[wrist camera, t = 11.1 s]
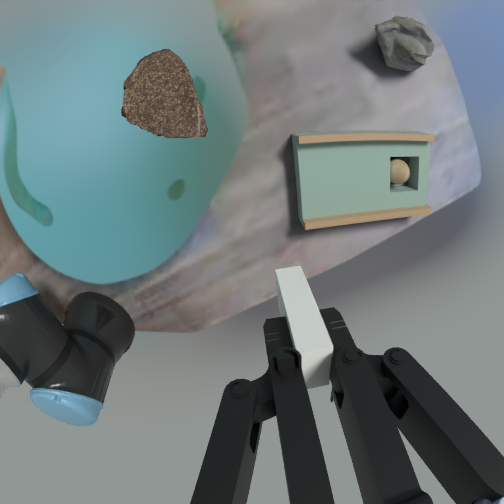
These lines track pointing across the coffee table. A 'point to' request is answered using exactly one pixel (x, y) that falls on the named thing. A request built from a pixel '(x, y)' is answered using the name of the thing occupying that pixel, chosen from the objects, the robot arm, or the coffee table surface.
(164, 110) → the rock
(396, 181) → the ball
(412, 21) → the fossil
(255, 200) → the coffee table surface
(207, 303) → the coffee table surface
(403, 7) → the coffee table surface
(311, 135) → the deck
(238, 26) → the coffee table surface
